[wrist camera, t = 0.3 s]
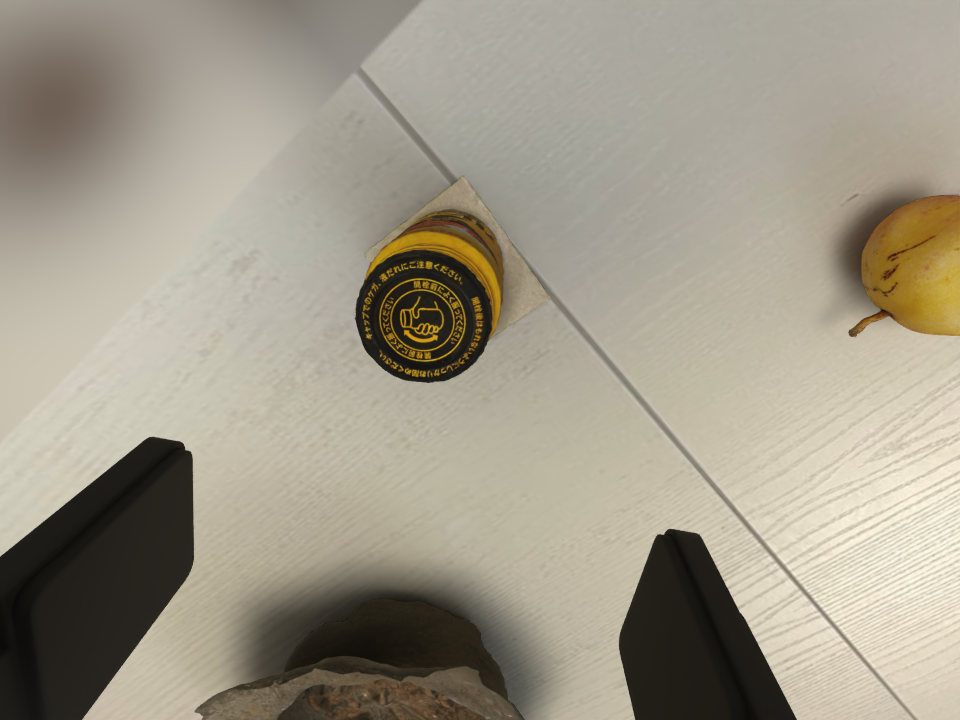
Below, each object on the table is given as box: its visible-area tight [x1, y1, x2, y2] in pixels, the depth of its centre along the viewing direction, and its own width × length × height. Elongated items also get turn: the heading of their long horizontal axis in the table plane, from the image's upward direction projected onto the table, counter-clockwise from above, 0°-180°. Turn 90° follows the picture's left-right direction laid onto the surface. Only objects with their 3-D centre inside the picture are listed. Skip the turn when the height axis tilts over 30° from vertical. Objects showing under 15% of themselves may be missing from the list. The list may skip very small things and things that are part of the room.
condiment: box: [355, 176, 550, 383], centre depth 26 cm, size 7×8×12 cm
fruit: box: [848, 195, 960, 337], centre depth 27 cm, size 7×7×10 cm
